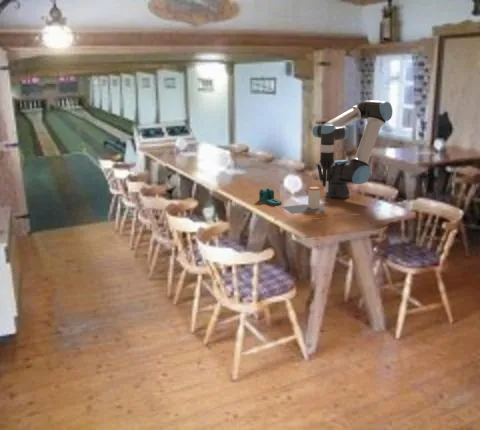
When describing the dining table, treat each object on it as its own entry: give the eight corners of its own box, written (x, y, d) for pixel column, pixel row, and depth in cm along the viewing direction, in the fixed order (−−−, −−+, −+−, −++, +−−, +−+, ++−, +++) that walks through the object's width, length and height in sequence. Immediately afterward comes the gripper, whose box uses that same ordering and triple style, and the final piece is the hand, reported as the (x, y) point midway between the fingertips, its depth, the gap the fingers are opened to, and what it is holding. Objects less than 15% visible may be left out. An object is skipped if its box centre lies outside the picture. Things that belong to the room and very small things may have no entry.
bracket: (259, 200, 328) (259, 188, 325) (268, 199, 331) (268, 187, 328) (274, 207, 312) (274, 194, 310) (283, 205, 315) (283, 192, 313)
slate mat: (315, 204, 316) (315, 203, 316) (327, 211, 301) (327, 210, 301) (281, 207, 310) (281, 206, 310) (292, 214, 295) (292, 213, 295)
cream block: (316, 206, 310) (316, 186, 307) (319, 208, 305) (320, 188, 302) (308, 206, 308) (308, 187, 305) (311, 209, 304) (312, 188, 301)
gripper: (334, 150, 305) (333, 189, 312) (314, 151, 302) (313, 191, 308) (340, 152, 298) (338, 192, 305) (319, 153, 295) (318, 193, 301)
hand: (325, 191), depth 306 cm, fingers closed
